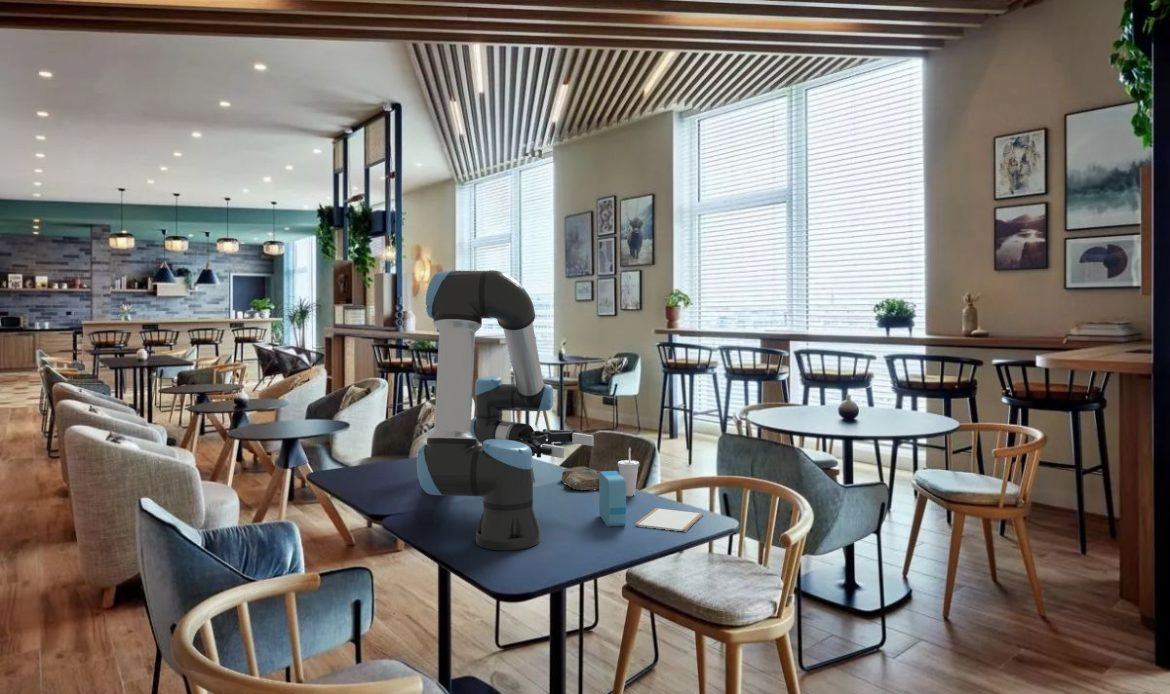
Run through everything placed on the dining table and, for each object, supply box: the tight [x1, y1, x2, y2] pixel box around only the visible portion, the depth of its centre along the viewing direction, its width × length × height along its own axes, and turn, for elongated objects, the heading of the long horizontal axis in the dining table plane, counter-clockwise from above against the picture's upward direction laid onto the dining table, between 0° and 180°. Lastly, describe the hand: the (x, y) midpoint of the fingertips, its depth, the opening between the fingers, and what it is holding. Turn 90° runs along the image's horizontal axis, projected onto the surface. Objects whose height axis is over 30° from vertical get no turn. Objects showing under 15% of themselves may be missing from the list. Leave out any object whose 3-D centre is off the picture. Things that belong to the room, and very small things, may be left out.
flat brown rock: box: [561, 466, 601, 491], centre depth 227 cm, size 14×5×20 cm
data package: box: [598, 470, 627, 528], centre depth 185 cm, size 12×4×12 cm, turn 10°
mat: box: [634, 507, 704, 532], centre depth 185 cm, size 16×13×1 cm
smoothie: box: [617, 447, 640, 497], centre depth 212 cm, size 6×6×14 cm
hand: (578, 446), depth 190 cm, fingers open, 13 cm apart
